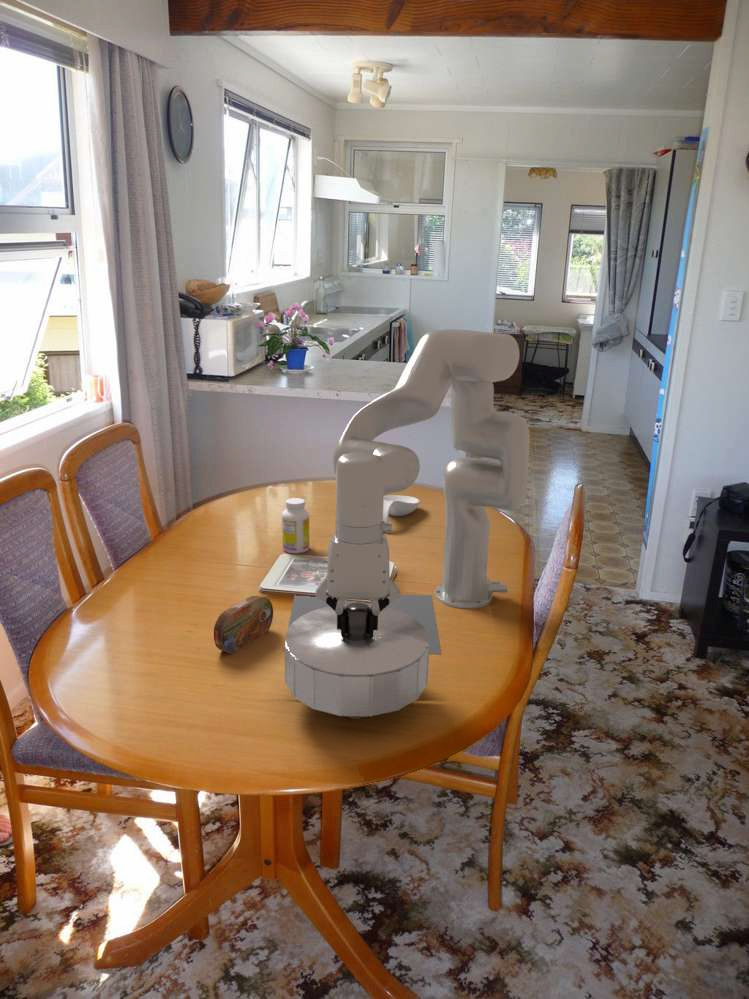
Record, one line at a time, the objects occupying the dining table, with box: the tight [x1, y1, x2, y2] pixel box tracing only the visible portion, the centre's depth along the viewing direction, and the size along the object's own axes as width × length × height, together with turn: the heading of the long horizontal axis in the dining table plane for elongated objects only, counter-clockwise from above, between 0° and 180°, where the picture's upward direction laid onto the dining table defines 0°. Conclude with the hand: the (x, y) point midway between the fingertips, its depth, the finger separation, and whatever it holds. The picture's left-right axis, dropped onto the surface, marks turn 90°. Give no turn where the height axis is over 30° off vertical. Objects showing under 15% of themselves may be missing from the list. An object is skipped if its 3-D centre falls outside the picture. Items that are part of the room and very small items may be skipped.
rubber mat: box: [283, 593, 442, 655], centre depth 167 cm, size 30×26×1 cm
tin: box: [213, 595, 274, 655], centre depth 157 cm, size 15×3×8 cm, turn 148°
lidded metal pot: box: [284, 603, 430, 717], centre depth 136 cm, size 24×24×13 cm
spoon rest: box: [383, 494, 421, 534], centre depth 226 cm, size 24×12×7 cm, turn 163°
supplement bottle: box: [281, 497, 310, 555], centre depth 202 cm, size 7×7×13 cm
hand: (357, 632), depth 136 cm, fingers closed on lidded metal pot, 4 cm apart
